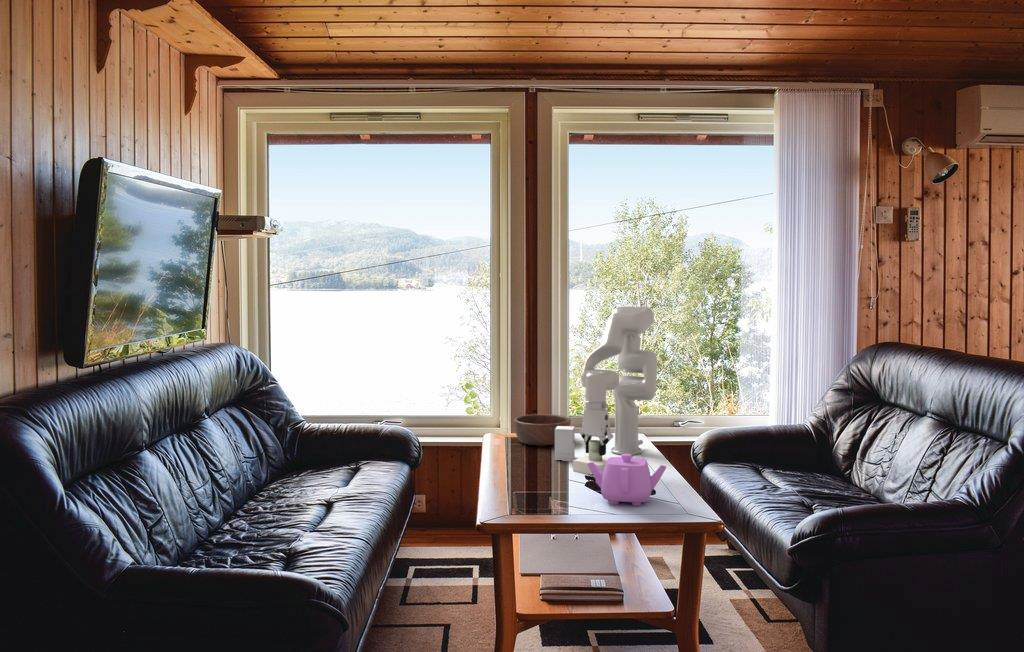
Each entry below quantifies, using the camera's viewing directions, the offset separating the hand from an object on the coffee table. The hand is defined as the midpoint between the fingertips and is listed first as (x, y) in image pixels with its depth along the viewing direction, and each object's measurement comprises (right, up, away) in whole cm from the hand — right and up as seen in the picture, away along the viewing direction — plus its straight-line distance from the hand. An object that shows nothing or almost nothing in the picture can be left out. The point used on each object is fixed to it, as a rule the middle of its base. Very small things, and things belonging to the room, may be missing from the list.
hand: (595, 453), depth 278 cm
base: (0, -6, 0) cm, 6 cm away
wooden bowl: (-18, -4, +51) cm, 54 cm away
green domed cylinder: (0, -2, 0) cm, 2 cm away
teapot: (+6, -9, -38) cm, 40 cm away
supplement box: (-10, -6, +19) cm, 22 cm away
